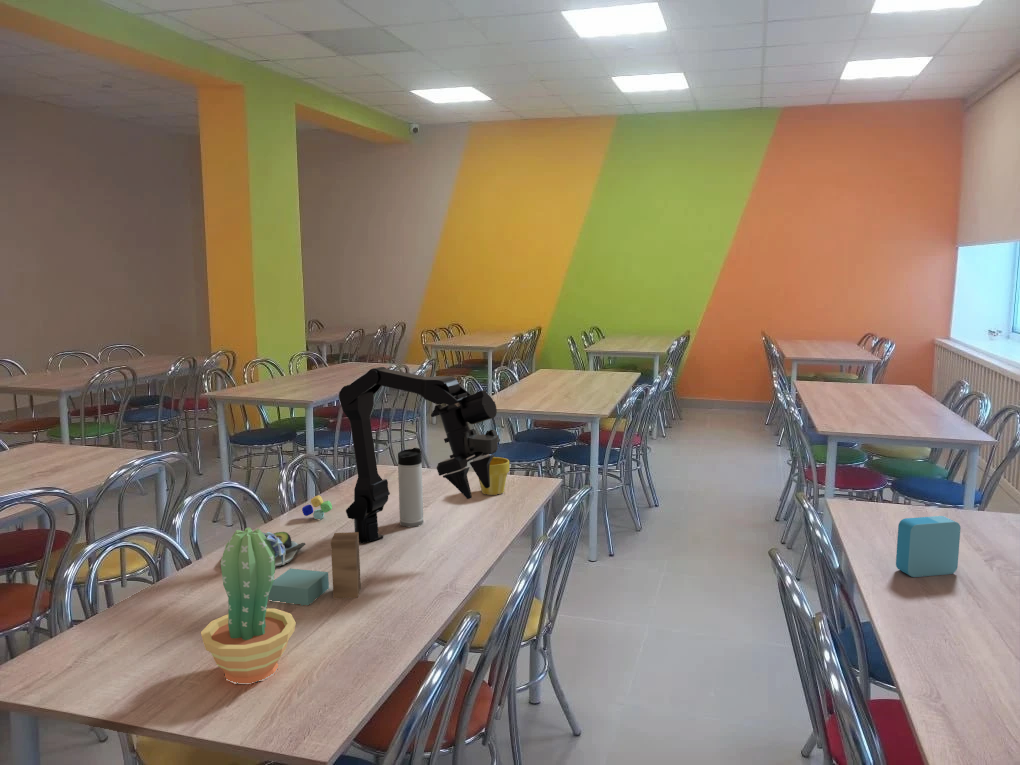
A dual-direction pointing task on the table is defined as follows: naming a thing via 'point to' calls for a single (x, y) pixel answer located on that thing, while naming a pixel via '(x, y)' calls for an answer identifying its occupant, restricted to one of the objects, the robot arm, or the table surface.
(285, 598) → the teal base block
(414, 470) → the travel mug
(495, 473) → the plant pot
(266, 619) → the potted cactus
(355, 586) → the walnut block
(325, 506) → the dice
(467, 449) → the robot arm
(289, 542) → the salad plate
